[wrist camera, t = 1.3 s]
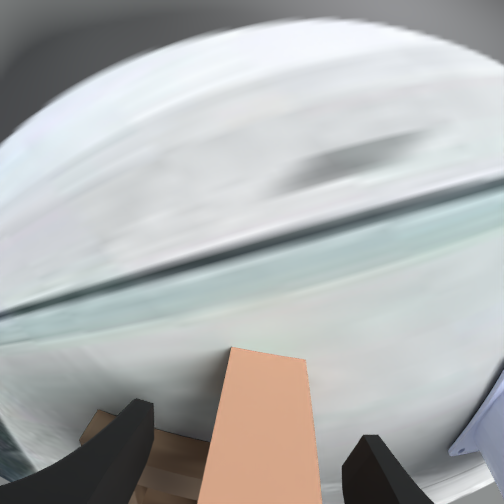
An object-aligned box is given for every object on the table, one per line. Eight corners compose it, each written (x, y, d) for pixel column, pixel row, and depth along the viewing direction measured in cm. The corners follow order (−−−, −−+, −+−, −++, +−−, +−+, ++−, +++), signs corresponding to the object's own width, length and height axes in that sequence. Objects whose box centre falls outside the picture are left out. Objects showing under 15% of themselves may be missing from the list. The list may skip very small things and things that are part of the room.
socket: (279, 453, 14) (278, 490, 11) (246, 518, 17) (243, 544, 14) (98, 409, 14) (79, 439, 11) (117, 487, 17) (107, 511, 14)
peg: (305, 359, 12) (325, 547, 4) (287, 409, 13) (288, 572, 5) (231, 346, 12) (190, 536, 4) (221, 398, 13) (186, 561, 5)
